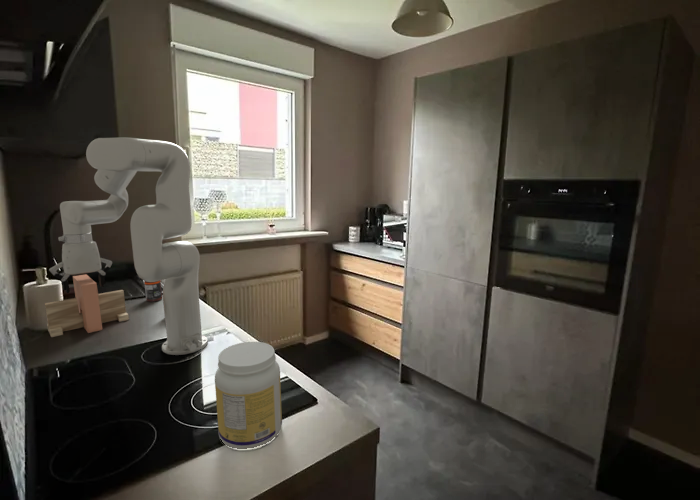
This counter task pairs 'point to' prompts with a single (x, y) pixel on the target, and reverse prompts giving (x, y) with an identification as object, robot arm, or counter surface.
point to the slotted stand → (69, 318)
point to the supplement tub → (248, 395)
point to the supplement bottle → (153, 291)
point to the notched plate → (88, 302)
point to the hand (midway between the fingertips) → (85, 289)
